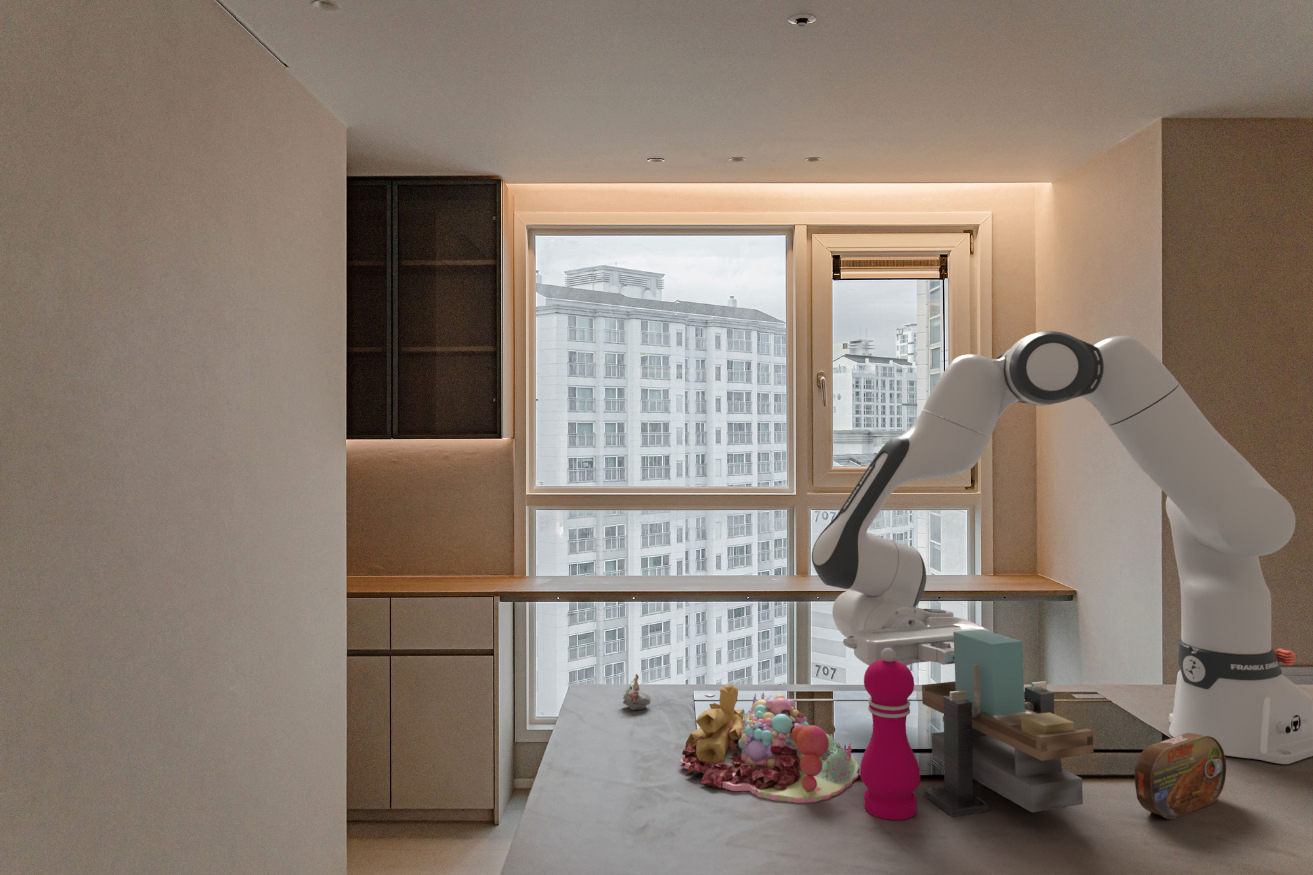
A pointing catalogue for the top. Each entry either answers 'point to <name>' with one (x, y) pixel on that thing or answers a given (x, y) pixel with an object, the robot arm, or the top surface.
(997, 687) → the teal rectangular block
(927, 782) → the top surface
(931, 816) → the top surface
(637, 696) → the figurine
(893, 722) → the pepper mill
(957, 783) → the fulcrum
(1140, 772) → the tin
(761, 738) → the candy landscape model
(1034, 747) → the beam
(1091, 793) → the top surface
